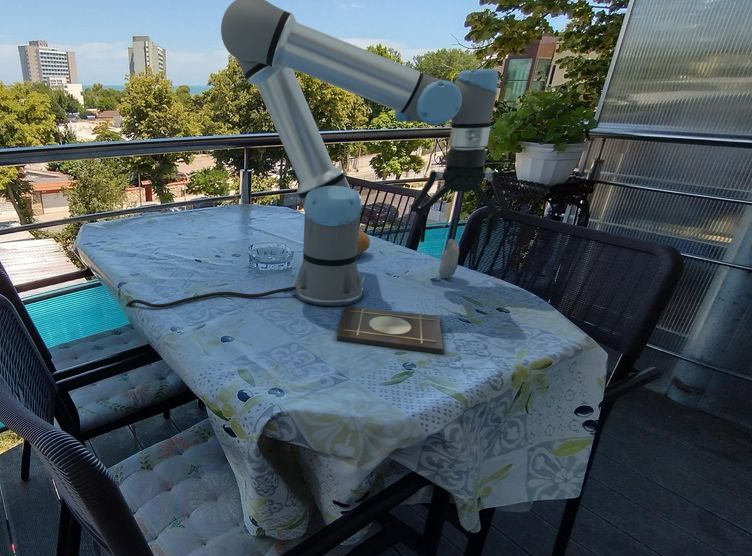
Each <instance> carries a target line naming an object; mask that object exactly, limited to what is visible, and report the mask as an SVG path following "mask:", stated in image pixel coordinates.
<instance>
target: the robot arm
mask: <svg viewBox="0 0 752 556" xmlns="http://www.w3.org/2000/svg"><path fill="white" fill-rule="evenodd" d="M220 35H221V40H222V43H223V45H224V47H225V49H226V51H227V52H228V53H229V54H230V55H231V56H232V57H234V58H235V59H236V60H237V62H238V64H239V67H240V69H241V71H242V73H243V75H244V77H245V80H246V82H247V83H249V84H250V85H254V86H255V87H257V90H258V92H259V94H260V97H261V99H262V101H263V103H264V105H265V108H266V111H267V112H268V114H269V116H270V119H271V121H272V123H273V125H274V128H275V130H276V132H277V134H278V137H279V139H280V141H281V144H282V146H283V148H284V150H285V153H286V155H287V157H288V159H289V162H290V163H291V166H292V168H293V170H294V173H295V175H296V177H297V179H298V182H299V185H298V188H297V189H296V193H297V195H298V198H299V200H300V202H301V204H302V207H303V211H304V224H303V252H302V253H303V255H302V262H301V265H300V268H299V270H298V272H297V276H296V279H295V281H294V286H288V287H283V288H278V289H273V290H269V291H265V292H261V293H244V292H236V291H217V292H209V293H205V294H199V295H193V296H190V297H186V298H182V299H178V300H175V301H171V302H165V303H152V302H148V301H145V300H142V299H132V300H130V301H128V302H127V303H126V304H125V307H130V306H132V305H133V304H140V305H143V306H146V307H150V308H153V309H154V308H155V309H158V308H159V309H160V308H161V309H162V308H168V307H173V306H176V305H180V304H183V303H186V302H187V303H188V302H190V301H191V302H193V301H197V300H200V299H205V298H210V297H217V296H234V297H235V296H237V297H243V298H263V297H267V296H271V295H275V294H279V293H285V292H290V291H291V292H292V291H293V293H294V296H295V298H297V299H299V300H300V301H302V302H305V303H307V304H310V305H315V306H321V307H322V306H323V307H343V306H350V305H352V304H354V303H357V302H358V301H360V300H361V299H362V298H363V283H364V281H365V275H363V276H362V279H361V275H360V272H359V269H358V264H357V259H358V258H357V246H358V234H359V231H360V221H361V213H362V208H363V206H362V197H361V195H360V193H359V192H358V191H357V190H356V189H354V188H351V187H350V184H349V182H348V180H347V178H346V175H345V172H344V170H343V169H342V168H339V167H337V166H335V165H334V164H333V161H332V159H331V156H330V155H329V151H328V149H327V147H326V145H325V142H324V140H323V138H322V135H321V133H320V131H319V128H318V125H317V124H316V121H315V119H314V116H313V114H312V112H311V108H310V107H309V104H308V102H307V100H306V98H305V94H304V92H303V89H302V87H301V85H300V83H299V81H298V78H297V76H296V74H295V71H296V72H299V73H302V74H304V75H307V76H309V77H311V78H314V79H317V80H319V81H321V82H324V83H327V84H329V85H330V86H335V87H336V88H339V89H341V90H344V91H346V92H349V93H351V94H353V95H356V96H359V97H361V98H364V99H366V100H369V101H370V102H374V103H376V104H378V105H381V106H384V107H386V108H389V109H391V110H394V118H395V120H396V121H397V122H407V123H412V122H421V123H425V124H427V125H428V126H429V125H430V126H439V125H443V124H446V123H448V122H449V121H451V127H450V133H449V141H448V146H449V147H450V148H449V150H448V151H447V156H446V165H445V168H444V171H439V170H438V171H437V170H435V169H431V170H430V172H429V176H428V180H427V181H426V182H425V184H424V186H423V187H422V188H421V190H420V192H419V193H418V195H417V196H416V198H415V199H414V201H413V202H412V204H411V206H410V211H411V212H414V213H416V214H417V222H416V227H417V228H420V229H421V231H420V239H419V240H420V243H425V237H426V229H427V222H428V221H427V220H428V212H427V211H429V209H430V208H431V207H433V206H434V205H435V204H436V203H437V202H438V201H439V200H440V199H441V198H442V197H444V195H446V194H448V192H450V191H452V192H453V193H459V192H464V193H470V192H472V191H474V192H475V193H476V194H477V195H478V197H479V198H480V200H481V201H482V202H483V203H484V205H485V206H486V207H487V209H488V210H489V211H490V213H491V214H487V219H486V224H485V230H484V236H483V244H484V246H490V239H491V235H492V231H494V232H495V231H497V229H498V224H499V219H500V217H501V216H504V215H508V214H510V212H511V210H510V207H509V205H508V202H507V199H506V196H505V194H504V191H503V189H502V188H503V187H502V185H501V183H500V172H499V171H498V170H496V169H493V170H491V171H485V163H486V157H487V150H486V148H485V147H487V146H488V144H489V137H490V131H491V125H492V118H493V113H494V108H495V102H496V97H497V95H498V84H499V83H498V82H499V72H498V71H497V69H494V68H480V69H466V70H461V71H460V72H459V73H458V75H457V78H456V80H453V81H450V80H448V79H439V78H437V77H434V76H431V75H429V74H427V73H423V72H421V71H419V70H417V69H414V68H412V67H409V66H407V65H404V64H402V63H401V62H400V63H399V62H397V61H394V60H392V59H389V58H387V57H385V56H382V55H379V54H377V53H374V52H372V51H369V50H367V49H365V48H362V47H359V46H357V45H355V44H352V43H350V42H347V41H344V40H342V39H339V38H337V37H335V36H332V35H330V34H327V33H325V32H322V31H319V30H317V29H314V28H312V27H309V26H307V25H304V24H302V23H299V22H298V21H297V19H296V17H295V15H294V14H293V13H292V12H289V11H286V10H284V9H282V8H279V7H278V6H276V5H274V4H272V3H271V2H269V1H267V0H234V1H232V2H231V3H230V4H229V6H228V7H227V8H226V9H225V11H224V13H223V16H222V19H221V24H220ZM440 178H442V179H443V181H444V182H445V183H444V184H443V185H442V186H441V187H440V188H439V189H438V190H437V191H436V192H435V193H433V195H432V196H430V197H429V199H427V200H426V201H425V202H424V204H422V202H423V200H424V199H425V197H426V196H427V195H428V193H429V192H430V190H431V189H432V187H433V186H434V184H435V182H438V181H439V180H440ZM485 178H487V181H488V182H489V183H491V186H492V189H493V191H494V193H495V196H496V198H497V201H498V204H499V207H500V208H497V207H496V205H494V203H493V202H492V201H491V199H490V198H489V197H488V195H487V194H486V193H485V192H484V190H483V188H481V186H480V185H479V184H480V183H481V182H482V181H483V180H484V179H485ZM421 204H422V205H421ZM131 429H132V435H133V443H134V450H135V451H138V450H139V445H138V437H137V429H136V425H133V424H131Z"/></svg>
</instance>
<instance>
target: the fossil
mask: <svg viewBox="0 0 752 556" xmlns="http://www.w3.org/2000/svg"><path fill="white" fill-rule="evenodd" d="M459 256H460V245H459V244H458V242H457V241H456V240H455V239H453V238H450V239H448V241H447V245H446V248H445V249H444V251H442V253H441V256H440V263H439V267H438V274H439V276H440V278H441V279H448V278H451V277H452V276H454V275H455V273H456V271H457V268H458V266H459V265H458V262H459Z"/></svg>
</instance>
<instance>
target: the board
mask: <svg viewBox="0 0 752 556" xmlns="http://www.w3.org/2000/svg"><path fill="white" fill-rule="evenodd" d="M336 340H337V341H341V342H347V343H355V344H363V345H371V346H379V347H386V348H394V349H401V350H409V351H415V352H416V351H417V352H422V353H424V352H425V353H431V354H440V355H443V354H444V343H443V342H444V341H443V335H442V328H441V321H440V316H439V315H434V314H433V315H432V314H425V313H416V312H407V311H397V310H387V309H377V308H369V307H361V306H360V307H359V306H350V305H345V307H344V311H343V315H342V317H341V322H340V325H339V328H338V332H337V335H336Z"/></svg>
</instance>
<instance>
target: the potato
mask: <svg viewBox="0 0 752 556" xmlns="http://www.w3.org/2000/svg"><path fill="white" fill-rule="evenodd" d="M370 245H371V239H370V237H369V236H368V235H367V234H366V232H363V231H361V230H359V234H358V246H357V256H360V255H362V254H363V253H365V252H366V251H367V250H368V249H369V248H370Z"/></svg>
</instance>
